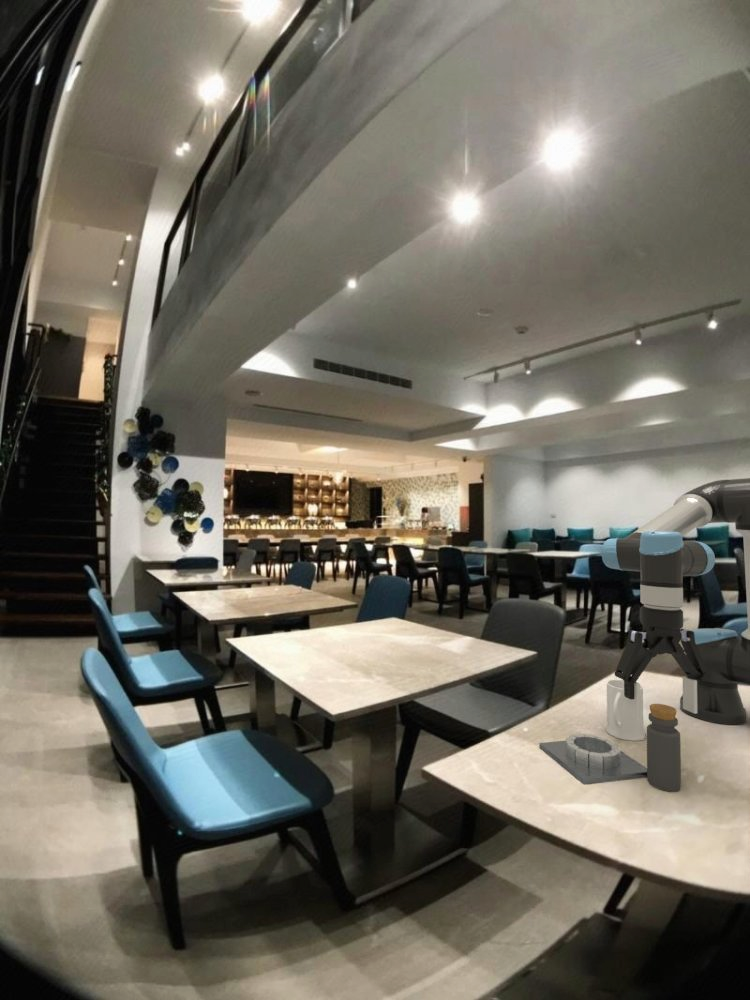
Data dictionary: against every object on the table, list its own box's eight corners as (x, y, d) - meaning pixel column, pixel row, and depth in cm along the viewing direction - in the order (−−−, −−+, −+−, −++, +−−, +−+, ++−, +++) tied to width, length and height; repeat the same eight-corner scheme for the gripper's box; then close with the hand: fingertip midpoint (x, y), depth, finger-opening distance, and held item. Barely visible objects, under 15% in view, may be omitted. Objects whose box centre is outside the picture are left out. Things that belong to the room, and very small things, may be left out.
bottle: (681, 795, 92) (680, 715, 92) (646, 786, 95) (645, 709, 96) (681, 781, 97) (679, 706, 97) (647, 773, 100) (646, 700, 101)
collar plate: (599, 741, 114) (599, 726, 114) (652, 776, 99) (651, 758, 99) (539, 747, 111) (539, 732, 111) (584, 784, 95) (584, 766, 95)
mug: (630, 748, 111) (629, 696, 111) (593, 735, 117) (593, 686, 118) (650, 734, 119) (649, 685, 119) (614, 723, 125) (614, 676, 126)
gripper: (695, 603, 104) (696, 702, 103) (595, 604, 98) (595, 709, 97) (728, 609, 97) (729, 716, 95) (622, 610, 91) (622, 724, 90)
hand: (662, 713), depth 96 cm, fingers open, 13 cm apart
